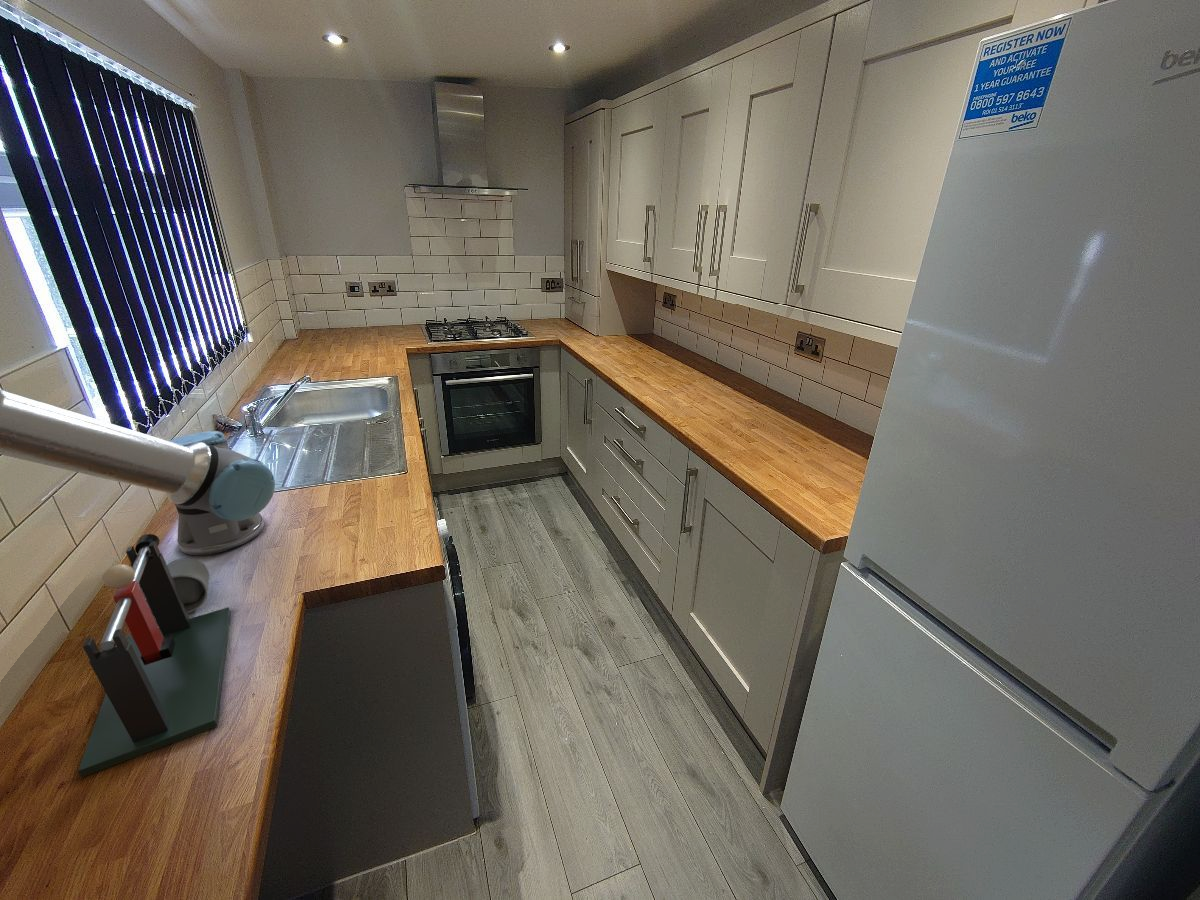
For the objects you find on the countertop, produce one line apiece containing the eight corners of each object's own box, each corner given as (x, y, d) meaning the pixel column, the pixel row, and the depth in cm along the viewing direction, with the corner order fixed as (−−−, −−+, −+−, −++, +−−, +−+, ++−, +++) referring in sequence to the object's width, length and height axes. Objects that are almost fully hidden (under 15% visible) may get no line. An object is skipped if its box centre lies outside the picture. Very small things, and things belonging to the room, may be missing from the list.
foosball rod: (161, 599, 87) (125, 519, 81) (187, 592, 89) (154, 512, 82) (125, 717, 66) (73, 621, 60) (160, 705, 68) (113, 610, 62)
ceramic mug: (215, 581, 99) (201, 547, 96) (214, 605, 93) (199, 570, 90) (144, 603, 94) (127, 568, 91) (138, 630, 88) (119, 593, 84)
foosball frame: (128, 642, 85) (84, 553, 78) (230, 612, 91) (197, 527, 84) (81, 777, 64) (14, 672, 57) (217, 726, 70) (172, 626, 63)
